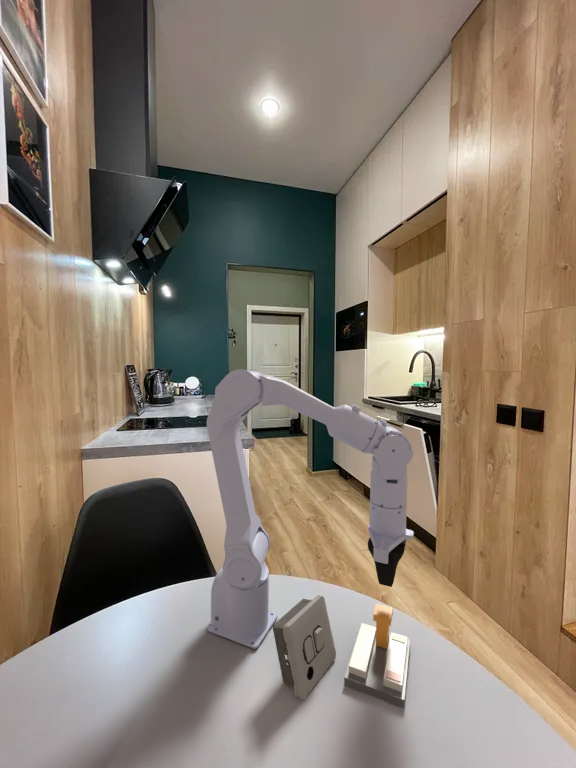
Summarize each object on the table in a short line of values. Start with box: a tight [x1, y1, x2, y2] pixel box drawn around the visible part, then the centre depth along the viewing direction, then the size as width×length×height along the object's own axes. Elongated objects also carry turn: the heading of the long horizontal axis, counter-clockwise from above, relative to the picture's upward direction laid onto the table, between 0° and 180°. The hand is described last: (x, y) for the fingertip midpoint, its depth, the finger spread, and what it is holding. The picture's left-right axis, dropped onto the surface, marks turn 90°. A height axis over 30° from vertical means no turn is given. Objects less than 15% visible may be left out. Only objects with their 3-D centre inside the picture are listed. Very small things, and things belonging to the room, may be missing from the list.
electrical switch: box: [272, 594, 337, 700], centre depth 50 cm, size 9×5×9 cm, turn 141°
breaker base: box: [343, 622, 411, 709], centre depth 51 cm, size 8×11×2 cm
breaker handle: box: [372, 603, 394, 649], centre depth 54 cm, size 3×3×5 cm
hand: (385, 583), depth 56 cm, fingers closed
